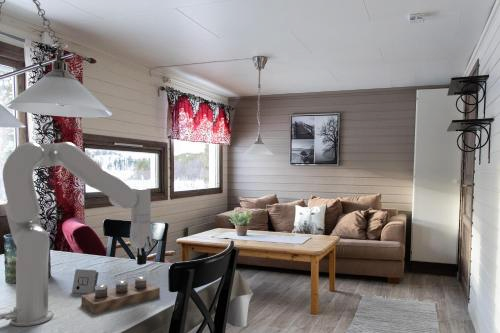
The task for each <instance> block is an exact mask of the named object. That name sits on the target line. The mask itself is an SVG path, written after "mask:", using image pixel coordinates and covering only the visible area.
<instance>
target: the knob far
mask: <svg viewBox="0 0 500 333" xmlns="http://www.w3.org/2000/svg"><path fill="white" fill-rule="evenodd" d="M146 282H147V276H146V275H138V276H135V277H134V284H135V288H136V289H143V288H146Z"/></svg>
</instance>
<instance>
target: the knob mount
mask: <svg viewBox="0 0 500 333" xmlns="http://www.w3.org/2000/svg"><path fill="white" fill-rule="evenodd" d="M160 289H161V288H160V287H158V286H156V285H155V284H152V283H149V282H148V281H146V288H143V289H136V288H135V283H132V284H128V292H126V293H122V294H118V293H116V287H114V288H108V289H107V297H106V298H101V299H97V298H95V292H93V293H91V294H88V293H86V294H83V295H81V297H80V298H81V304H80V305H81V306H82V307H83V308H84V309H87V310H88V311H89V312H91V313H92V314H93V315H96V313H97V314H101V313H104V312H106V311H107V312H108V311H111V310H115V309H119V308H122V307H126V306H130V305H133V304H138V303H141V302H145V301H149V300H153V299H156V298H160V295H161V291H160Z"/></svg>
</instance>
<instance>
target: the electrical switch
mask: <svg viewBox="0 0 500 333" xmlns="http://www.w3.org/2000/svg"><path fill="white" fill-rule="evenodd" d="M98 279H99V272H98V271H97V270H96V269H84V268H83V269H82V268H77V269H75V273H74V277H73V282H72V288H71V289H72V290H71V291H72V293H78V294H91V293H95V286H96V285H98V284H97V283H98Z"/></svg>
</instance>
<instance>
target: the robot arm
mask: <svg viewBox="0 0 500 333" xmlns="http://www.w3.org/2000/svg"><path fill="white" fill-rule="evenodd" d="M56 166H57V167H59V166H60V167H62V168H64V169H65V170H67V171H68V172H69V173H70V174H72V175H73V176H74V177H76V178H77V179H78V180H80V181H81V182H82V183H83V184H85V185H87V186H89V187H90V188H93V189H95V190H97V191H99V192H101V193H102V194H104V195H105V196H107V197H108V201H109V202H110V204H111V205H113V206H114V207H117V208H120V209H124V210H125V209H126V210H128V209H131V210H130V212H131V213H130V218H131V219H130V222H131V224H130V229H129V232H130V233H129V245H130V246H131V247H133V248H134V249H135V252H136V264H137V265H139V266H143V265H146V264H147V254H148V252H149V251H150V248H151V247H152V243H153V242H152V241H153V239H152V238H153V237H152V236H153V235H152V226H151V223H152V221H151V220H152V217H151V216H152V214H151V210H152V208H151V203H152V202H151V190H150V188H148V187H134V188H131V187H130V186H129V185H128V184H127V183H125V181H123V180H121V179H120V178H119V177H117V176H116V175H114V173H111V172H110V171H109V170H107V169H105V168H104V167H103V166H102V165H101V164H99V163H98V162H97V161H95V160H94V159H93V158H91V157H90V156H89V155H88V154H87V153H85V152H84V151H83V150H82V149H81V148H79V147H78V146H77V145H75V144H74V143H72V142H69V141H63V142H55V143H53V142H52V143H38V142H37V143H36V142H33V141H29V142H24V143H22V144H19V145H17V146H16V148H14V150H13V151H12V152H11V154H9V156H8V157H7V159H6V161H5V163H4V166H3V168H2V182H3V188H4V192H5V197H6V200H7V201H6V204H5V214H6V218H7V221H8V222H7V223H8V226H9V230H10V234H11V238H12V241H13V243H14V245H15V246H16V260H15V290H16V291H15V294H16V295H15V306H14V307H13V309H11V310H9V311H8V312H1V313H0V321H2V320H5V321H9V320H10V324H12V325H13V326H17V327H30V326H35V325H39V324H40V325H41V324H42V323H46V322H48V321H49V320H51V319H52V318H53V317H54V312H53V310H52V309H49V253H50V241H51V240H50V237H49V234H48V232H47V231H46V230H45V229H44V228H43V227H42V225H41V220H40V216H39V215H40V212H41V205H40V202H39V200H38V196H37V193H36V188H35V183H34V177H33V175H34V171H35V169H36V168H38V167H39V168H40V167H43V168H44V167H56Z"/></svg>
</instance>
